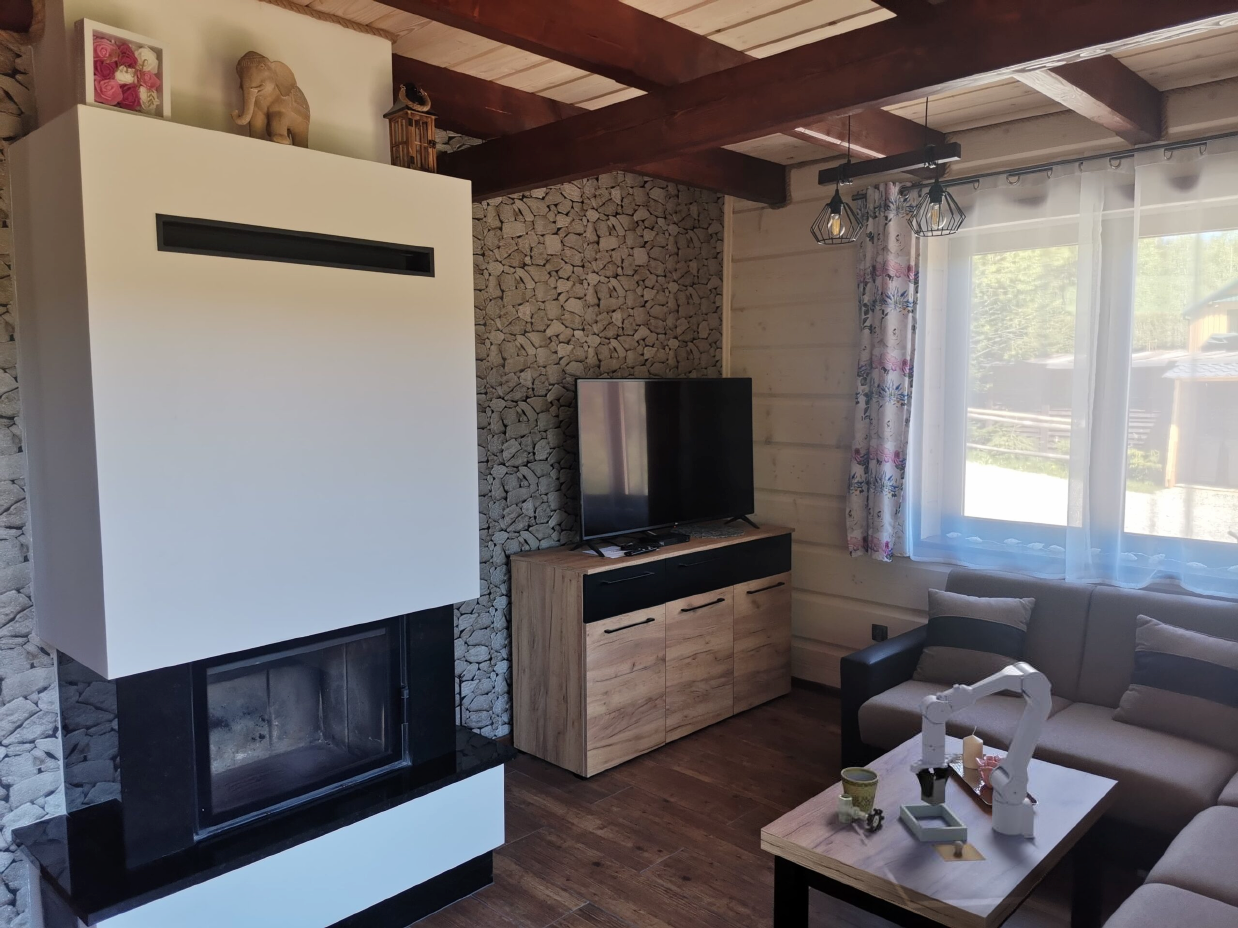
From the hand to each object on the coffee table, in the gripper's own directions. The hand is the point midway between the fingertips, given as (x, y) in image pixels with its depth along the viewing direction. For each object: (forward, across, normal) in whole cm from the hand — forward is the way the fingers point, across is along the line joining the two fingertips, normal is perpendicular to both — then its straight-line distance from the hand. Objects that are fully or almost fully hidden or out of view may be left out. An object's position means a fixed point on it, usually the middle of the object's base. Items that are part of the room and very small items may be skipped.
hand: (933, 794), depth 227 cm
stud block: (+10, -4, -12) cm, 16 cm away
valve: (+10, -15, +12) cm, 22 cm away
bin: (+10, 0, 0) cm, 10 cm away
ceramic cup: (+10, -7, +19) cm, 23 cm away
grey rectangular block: (+2, 0, 0) cm, 2 cm away
